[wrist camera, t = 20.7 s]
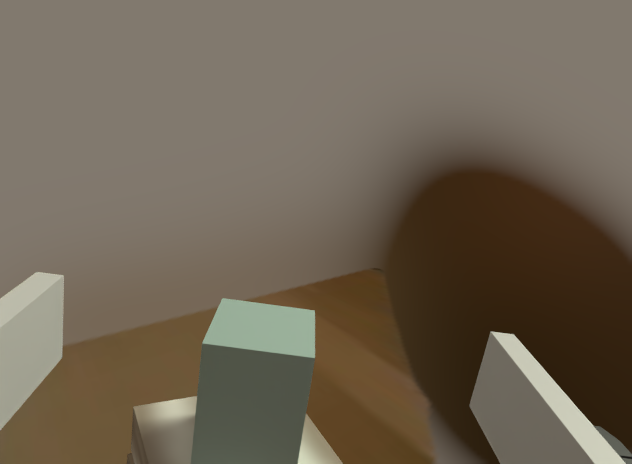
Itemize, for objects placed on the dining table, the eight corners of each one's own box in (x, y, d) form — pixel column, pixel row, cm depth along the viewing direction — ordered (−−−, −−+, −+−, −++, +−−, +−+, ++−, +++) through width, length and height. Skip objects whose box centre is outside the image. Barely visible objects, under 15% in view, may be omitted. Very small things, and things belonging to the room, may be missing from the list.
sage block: (293, 489, 34) (314, 358, 31) (189, 477, 33) (202, 343, 31) (296, 423, 40) (314, 310, 38) (210, 412, 40) (222, 298, 37)
